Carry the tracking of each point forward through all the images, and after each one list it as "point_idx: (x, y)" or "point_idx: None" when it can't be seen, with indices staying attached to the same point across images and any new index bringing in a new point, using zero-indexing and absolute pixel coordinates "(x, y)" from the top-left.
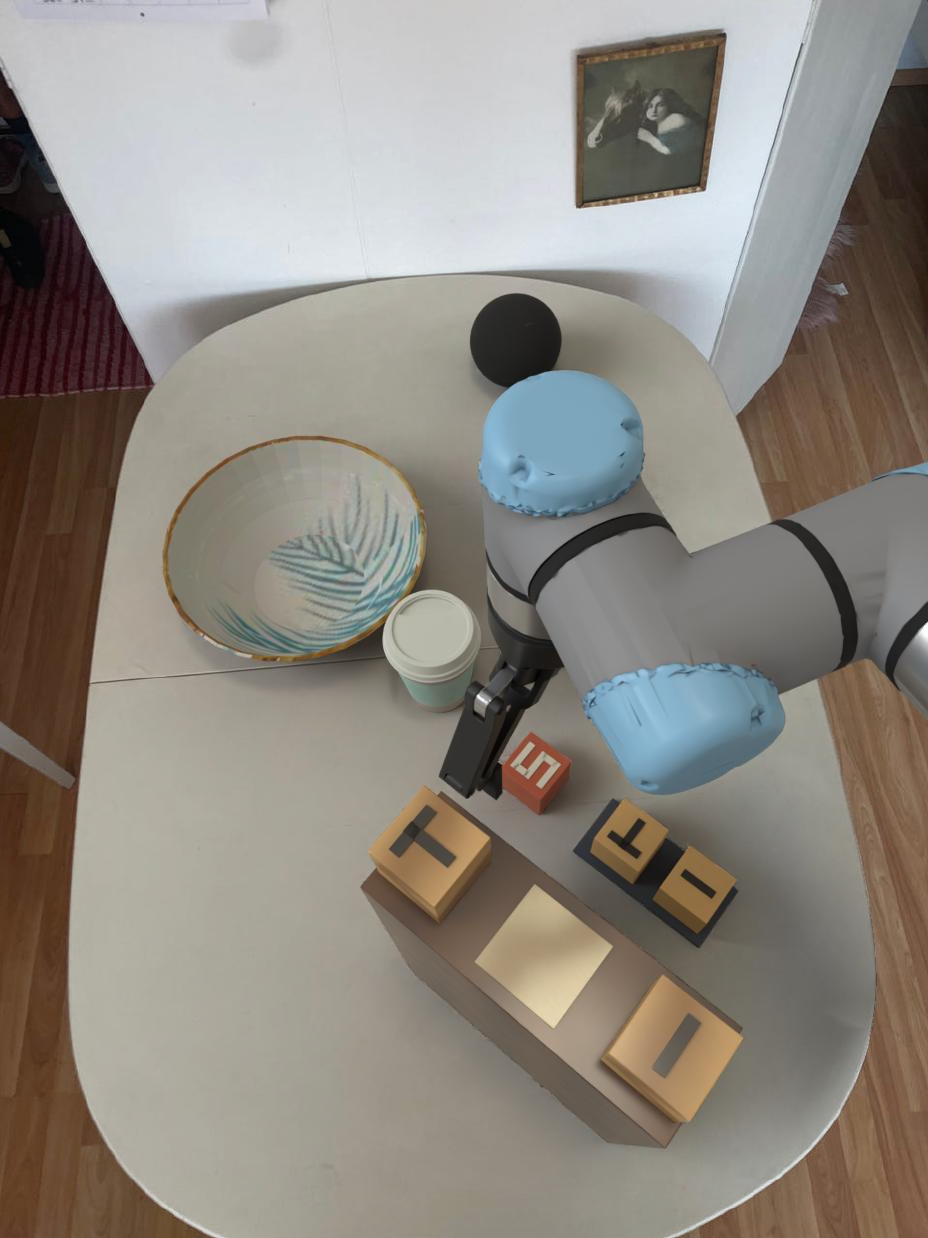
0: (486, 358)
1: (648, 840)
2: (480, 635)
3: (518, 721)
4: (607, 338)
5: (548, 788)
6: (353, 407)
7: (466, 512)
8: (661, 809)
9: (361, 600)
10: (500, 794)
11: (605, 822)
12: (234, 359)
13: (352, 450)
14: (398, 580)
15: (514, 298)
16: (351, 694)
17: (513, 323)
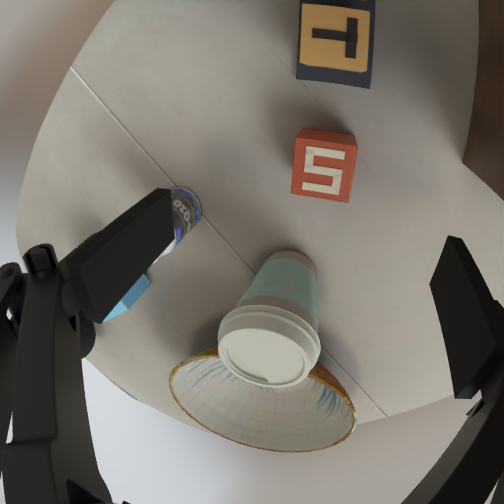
0: (84, 348)
1: (329, 16)
2: (236, 309)
3: (453, 481)
4: None
5: (340, 144)
6: (164, 378)
7: (161, 309)
8: (275, 34)
9: None
10: (454, 239)
11: (324, 72)
12: (190, 420)
13: (181, 401)
14: None
15: None
16: (334, 322)
17: None
